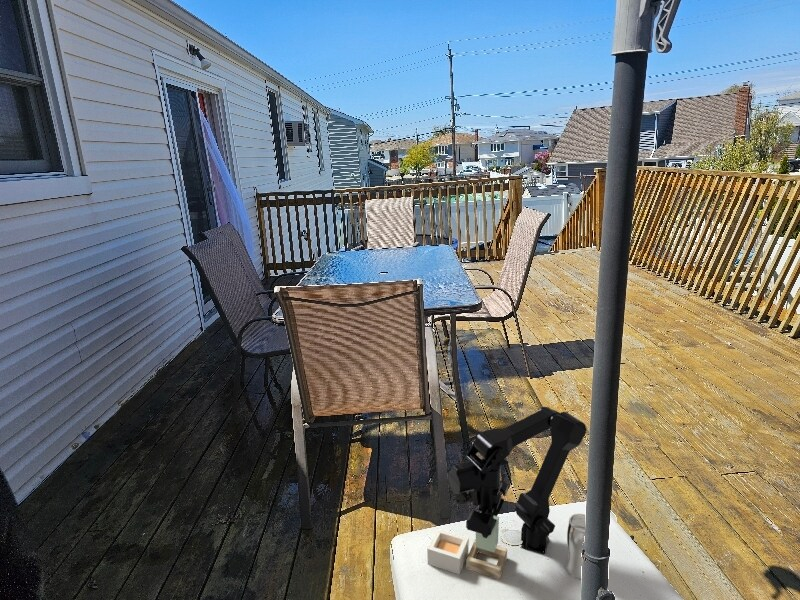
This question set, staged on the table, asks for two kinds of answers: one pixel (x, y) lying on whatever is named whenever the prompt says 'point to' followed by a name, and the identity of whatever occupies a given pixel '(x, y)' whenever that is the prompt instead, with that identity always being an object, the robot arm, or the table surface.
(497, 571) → the tan wooden frame
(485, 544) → the plug
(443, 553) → the socket
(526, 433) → the robot arm
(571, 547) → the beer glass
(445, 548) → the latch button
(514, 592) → the table surface
